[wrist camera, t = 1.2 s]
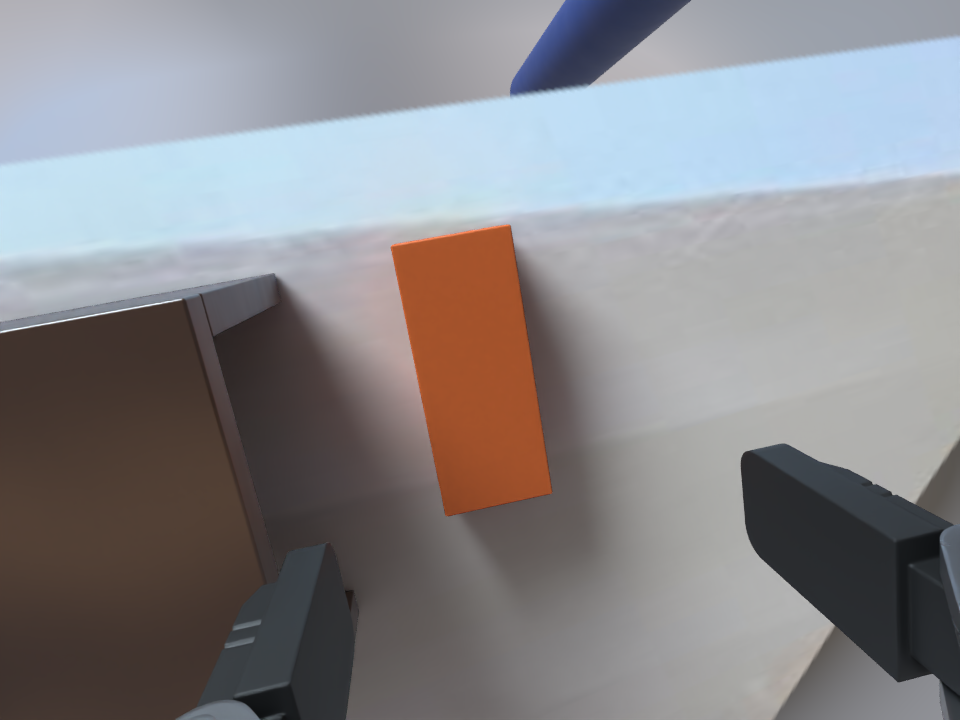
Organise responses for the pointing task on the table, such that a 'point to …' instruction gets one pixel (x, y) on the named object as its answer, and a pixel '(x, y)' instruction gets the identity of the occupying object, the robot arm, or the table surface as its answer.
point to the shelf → (124, 505)
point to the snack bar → (474, 367)
